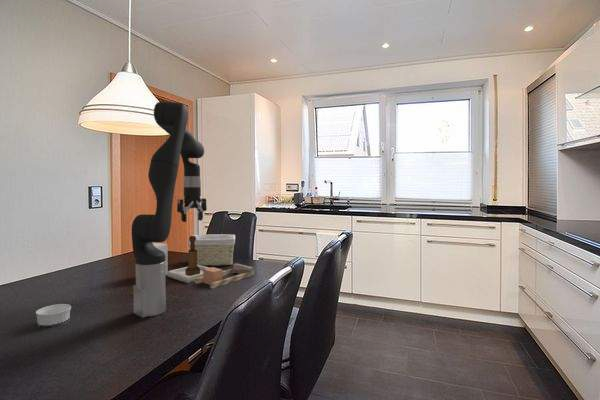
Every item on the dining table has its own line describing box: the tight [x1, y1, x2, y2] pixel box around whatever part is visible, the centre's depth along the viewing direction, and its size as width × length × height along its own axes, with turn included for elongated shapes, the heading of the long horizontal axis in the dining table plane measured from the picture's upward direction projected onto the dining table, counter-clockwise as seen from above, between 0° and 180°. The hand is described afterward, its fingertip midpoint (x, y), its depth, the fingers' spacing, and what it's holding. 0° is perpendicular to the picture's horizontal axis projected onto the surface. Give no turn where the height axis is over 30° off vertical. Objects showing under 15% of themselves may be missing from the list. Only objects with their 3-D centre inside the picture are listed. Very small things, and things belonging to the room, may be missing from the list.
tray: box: [167, 265, 210, 284], centre depth 154 cm, size 16×16×2 cm
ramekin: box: [35, 303, 72, 326], centre depth 103 cm, size 9×9×4 cm
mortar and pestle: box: [185, 235, 200, 276], centre depth 153 cm, size 7×6×18 cm
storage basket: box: [187, 233, 236, 267], centre depth 178 cm, size 24×16×15 cm
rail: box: [194, 262, 255, 290], centre depth 149 cm, size 24×12×4 cm, turn 143°
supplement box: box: [152, 242, 169, 276], centre depth 151 cm, size 9×9×15 cm
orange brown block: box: [202, 266, 224, 286], centre depth 143 cm, size 5×7×6 cm
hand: (192, 221), depth 152 cm, fingers open, 8 cm apart
